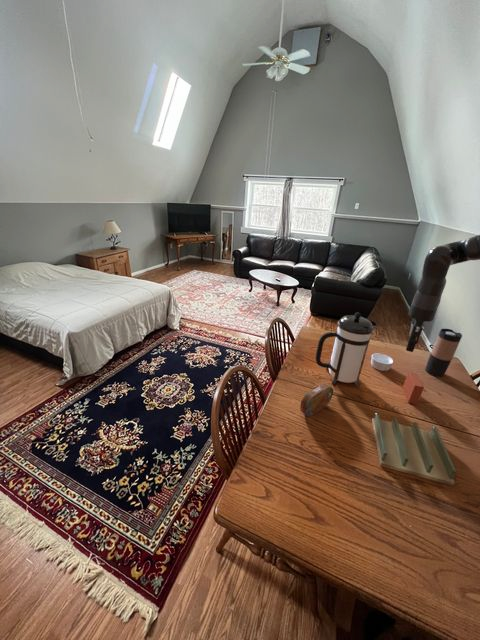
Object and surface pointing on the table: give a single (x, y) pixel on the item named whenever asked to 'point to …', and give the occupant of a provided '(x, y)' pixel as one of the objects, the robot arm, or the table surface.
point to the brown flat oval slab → (316, 399)
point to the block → (413, 387)
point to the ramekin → (381, 362)
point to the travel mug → (443, 352)
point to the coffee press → (347, 348)
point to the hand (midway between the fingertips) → (410, 346)
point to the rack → (413, 450)
